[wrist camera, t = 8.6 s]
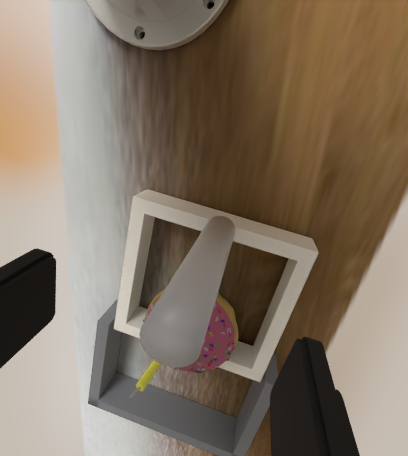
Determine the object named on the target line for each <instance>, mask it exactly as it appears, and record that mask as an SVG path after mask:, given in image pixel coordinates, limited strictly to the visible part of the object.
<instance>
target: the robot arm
mask: <svg viewBox="0 0 408 456" xmlns="http://www.w3.org/2000/svg"><path fill="white" fill-rule="evenodd" d="M228 1H229V0H86V2H87V4H88V6H89V7H90V8H91V10H92V11H93V13H94V14H95V16H96V17H97V19H98V20H99V21H100V22H101V23H102V24H103V25H104V26H105V27H106V28H107V29H108V30H109V31H111V32H112V33H113V34H115V35H116V36H117V37H119V38H120V39H122V40H124V41H126V42H128V43H129V44H131V45H133V46H136V47H140V48H143V49H146V50H166V49H172V48H176V47H179V46H181V45H183V44H186V43H188V42H190V41H192V40H193V39H195V38H196V37H197V36H199V35H200V34H202V33H203V32H204V31H205V30H206V29H207V28H208V27H209V26H210V25H211V24H212V23H213V22H214V21H215V20H216V19H217V18H218V16H219V15H220V13H221V12H222V10H223V9H224V7H225V6H226V4H227V3H228ZM211 3H213V4H214V7H213V8H211V9H208V6H209V4H211ZM143 34H145V36H144V38H143V39H142V35H143ZM55 291H56V260H55V258H53V255H52V254H51V253H49V252H46V251H43V250H40V249H33V250H31V251H30V252H28V253H26V254H24V255H22V256H20V257H19V258H17V259H15V260H13V261H11V262H10V263H8V264H6V265H4V266H2V267H0V368H1V367H2V366H3V365H4V364H6V362H8V361H9V360H10V359H11V358H12V357H13V356H14V355H15V354H16V353H17V352H18V351H19V350H21V349H22V348H23V347H24V346H25V345H26V344H27V343H28V342H29V341H30V340H31V339H32V338H33V337H34V336H35V335H37V334H38V333H39V332H40V331H41V330H42V329H43V328H44V327H45V326H46V325H47V324H48V323H49V322H50V321H51V320H52V319H53V317H54V315H55V293H56V292H55ZM270 421H271V456H360V455H359V452H358V448H357V445H356V442H355V438H354V435H353V431H352V428H351V425H350V422H349V418H348V414H347V411H346V408H345V404H344V401H343V398H342V395H341V393H340V392H339V391H338V390H335V387H334V384H333V380H332V376H331V373H330V369H329V365H328V362H327V358H326V354H325V351H324V347H323V344H322V343H321V342H320V341H317V340H314V339H311V338H308V337H303V338H302V340H300V339H297V340H296V341H295V343H294V345H293V347H292V349H291V351H290V353H289V355H288V357H287V359H286V361H285V363H284V365H283V367H282V369H281V371H280V373H279V375H278V377H277V379H276V381H275V383H274V385H273V387H272V390H271V394H270Z"/></svg>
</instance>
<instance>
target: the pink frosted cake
mask: <svg viewBox="0 0 408 456" xmlns="http://www.w3.org/2000/svg"><path fill="white" fill-rule="evenodd" d="M163 292H164V290H163V291H161V292H160V293H159V294H157V295H156V296H155V298H154V299H153V300H152V302H151V303H150V305H149V307H148V310H147V311H146V312H147V313H146V315H145V320H146V319H147V317H148V315H149V314H150V312H151V311H152V309H153V307H154V306H155V304H156V303H157V301H158V300H159V298H160V296H161V295H162V293H163ZM145 320H143V322H145ZM237 342H238V326H237V323H236V319H235V313H234V310H233V308H232V307H231V305H230V304H229V303H228V302H227V301H226V300H225V299H224V298H223V297H221V295H220V293H219V292H218V294H217V297H216V301H215V304H214V308H213V311H212V315H211V318H210V322H209V325H208V329H207V332H206V335H205V339H204V342H203V346H202V349H201V353H200V355H199V357H198V359H197V360H196V361H195V362H194V363H192V364H191V365H188V366H185V367H179V368H175V367H174V368H175V369H179V370H182V371H183V370H184V371H194V372H196V373H198V372H200V373H202V372H203V371H209V370H215V368H216V369H217V368H218V366H220V365H221V364H223V363H224V362H225V361H226V360H227V359H228V360H229V357H230V356H231V354H233V350H234V349H235V347H236V345H237ZM228 360H227V361H228ZM160 365H161V364H160V363H158V362H157V361H155V360H153V361H152V363H151V364H150V366H149V367H148V368H147V370H146V371H145V373H144V374H143V375H142V377H141V378H140V380H139V381H138V382H137V384H136V388H137V389H136V390H135V391H134V392H133V393H132V394H131V395H130V398H133V397H134V396H135V395H136V393H137V392H138V391H143V390H144V389H145V388H146V386H147V385H148V383H149V382H150V380H151V379H152V377H153V376H154V374H155V373H156V371H157V370H158V368H159V367H160Z"/></svg>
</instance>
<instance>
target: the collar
mask: <svg viewBox="0 0 408 456" xmlns="http://www.w3.org/2000/svg"><path fill="white" fill-rule="evenodd" d="M155 217H157V218H160V219H163V220H166V221H170V222H173V223H176V224H179V225H182V226H186V227H189V228H192V229H195V230H199V231H202V232H201V233H200V235H199V237H198V238H197V240H196V241H195V243H194V244H193V246H192V248H191V249H190V251H189V252H188V254H187V256H186V257H185V259H184V260H183V262H182V263H181V265H180V267H179V268H178V270H177V271H176V273H175V274H174V276H173V278H172V279H171V281H170V282H169V284H168V285H167V287H166V289H165V290H164V292H163V293H162V295H161V296H160V298H159V300H158V301H157V303H156V304H155V306H154V307H153V309H152V311H151V312H150V314H149V315H148V317H147V319H146V320H145V315H146V313H147V312H146V311H147V310H148V309H145V308H143V307H140V306H139V302H140V297H141V291H142V286H143V280H144V275H145V269H146V264H147V259H148V253H149V248H150V242H151V237H152V231H153V226H154V221H155ZM233 241H234V242H237V243H241V244H244V245H247V246H250V247H254V248H257V249H260V250H263V251H266V252H270V253H273V254H276V255H279V256H283V257H286V258H289V259H288V262H287V264H286V267H285V269H284V271H283V274H282V276H281V279H280V281H279V284H278V286H277V289H276V291H275V293H274V296H273V298H272V301H271V303H270V306H269V308H268V311H267V313H266V316H265V318H264V320H263V323H262V325H261V328H260V330H259V333H258V335H257V338H256V340H255V342H254V345H253V346H251V345H248V344H245V343H242V342H240V341H238V342H237V345H236V347H235V349H234V350H233V354H231V356H230V357H229V360H228V359H227V360H228V361H227V360H226V361H225V362H224V363H223V364H221V365H220V366H218V367H219V368H222V369H225V370H227V371H230V372H233V373H236V374H238V375H241V376H244V377H247V378H249V379H252V380H255V381H258V382H261V379H262V377H263V375H264V373H265V371H266V368H267V366H268V364H269V362H270V360H271V357H272V355H273V353H274V351H275V348H276V346H277V344H278V342H279V340H280V337H281V335H282V333H283V331H284V329H285V326H286V324H287V322H288V320H289V317H290V315H291V313H292V311H293V309H294V306H295V304H296V302H297V300H298V298H299V295H300V293H301V291H302V289H303V286H304V284H305V282H306V280H307V278H308V275H309V273H310V271H311V269H312V267H313V264H314V262H315V260H316V258H317V255H318V253H319V252H318V250H317V247H316V245H315V243H314V241H313V239H312V238H309V237H306V236H303V235H299V234H296V233H293V232H289V231H286V230H282V229H279V228H276V227H272V226H269V225H266V224H262V223H259V222H256V221H252V220H249V219H246V218H242V217H239V216H236V215H232V214H229V213H226V212H222V211H219V210H215V209H212V208H209V207H205V206H202V205H199V204H195V203H192V202H189V201H185V200H182V199H179V198H175V197H172V196H169V195H165V194H162V193H159V192H155V191H152V190H148V189H147V190H145V191H143V192H141V193H139V194H137V195H134V196H133V200H132V207H131V214H130V221H129V227H128V234H127V241H126V248H125V255H124V261H123V268H122V275H121V282H120V289H119V296H118V302H117V309H116V316H115V323H114V329H115V330H118V331H120V332H123V333H126V334H129V335H131V336H134V337H137V338H140V342H141V344H142V347H143V348H144V350H145V351H146V353H147V354H148V355H149V356H150V357H151V358H152V359H154V360H155V361H157V362H158V363H160V364H163V365H165V366H169V367H175V368H179V367H185V366H188V365H191V364H192V363H194V362H195V361H196V360H197V359H198V357H199V355H200V353H201V349H202V346H203V342H204V339H205V335H206V332H207V329H208V325H209V322H210V318H211V315H212V311H213V308H214V304H215V301H216V297H217V294H218V291H219V287H220V284H221V280H222V277H223V273H224V270H225V266H226V263H227V260H228V256H229V253H230V249H231V246H232V242H233ZM143 320H145V322H143Z"/></svg>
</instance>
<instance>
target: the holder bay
mask: <svg viewBox="0 0 408 456" xmlns="http://www.w3.org/2000/svg"><path fill="white" fill-rule="evenodd" d="M117 302H118V299H117V300H116V301H115V302H114V303H113V305H112V306H111V307H110V308H109V309H108V310H107V311H106V313H105V314H104V315H103V316H102V317H101V318H100V319H99V320H98V323H97V332H96V340H95V349H94V358H93V366H92V375H91V383H90V392H89V400H88V404H91V405H93V406H96V407H98V408H100V409H103V410H105V411H108V412H110V413H113V414H115V415H118V416H120V417H123V418H125V419H128V420H130V421H133V422H135V423H138V424H140V425H143V426H145V427H148V428H150V429H153V430H155V431H158V432H160V433H163V434H165V435H168V436H170V437H173V438H175V439H178V440H180V441H183V442H185V443H188V444H190V445H192V446H195V447H197V448H200V449H202V450H205V451H207V452H210V453H212V454H215V455H217V456H245V455H246V453H247V451H248V449H249V447H250V445H251V443H252V441H253V439H254V437H255V435H256V433H257V430H258V428H259V426H260V424H261V422H262V420H263V418H264V416H265V414H266V412H267V410H268V408H269V406H270V394H271V390H272V387H273V385H274V383H275V381H276V379H277V377H278V364H277V354H274V353H273V355H272V357H271V360H270V362H269V364H268V366H267V368H266V371H265V373H264V375H263V377H262V379H261V382H258V381H255V380H253V381H252V384H251V386H250V388H249V390H248V393H247V395H246V397H245V400H244V402H243V404H242V406H241V409H240V411H239V413H238V416H237V418H235V417H233V416H230V415H227V414H225V413H222V412H220V411H217V410H214V409H212V408H209V407H207V406H204V405H201V404H199V403H196V402H193V401H191V400H188V399H186V398H183V397H180V396H178V395H175V394H173V393H170V392H167V391H165V390H162V389H160V388H157V387H154V386H152V385H149V384H148V385H147V386H146V388H145V389H144V390H143V391H138V392H137V393H136V395H135V396H134V397H133V398H130V395H131V394H132V393H133V392H134V391H135V390H136V389H137V388H136V384H137V382H138V381H139V380H136V379H133V378H131V377H128V376H126V375H123V374H120V373H118V372H116V370H117V364H118V357H119V351H120V345H121V339H122V333H123V332H120V331H118V330H115V329H114V323H115V316H116V309H117Z"/></svg>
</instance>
